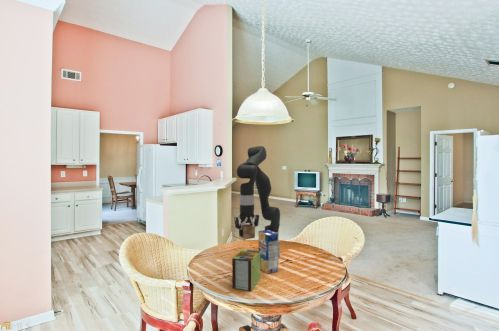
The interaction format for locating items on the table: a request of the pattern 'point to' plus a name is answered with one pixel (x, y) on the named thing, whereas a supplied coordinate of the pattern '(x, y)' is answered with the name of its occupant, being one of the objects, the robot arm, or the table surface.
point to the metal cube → (248, 231)
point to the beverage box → (268, 251)
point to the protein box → (246, 269)
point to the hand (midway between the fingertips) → (246, 235)
